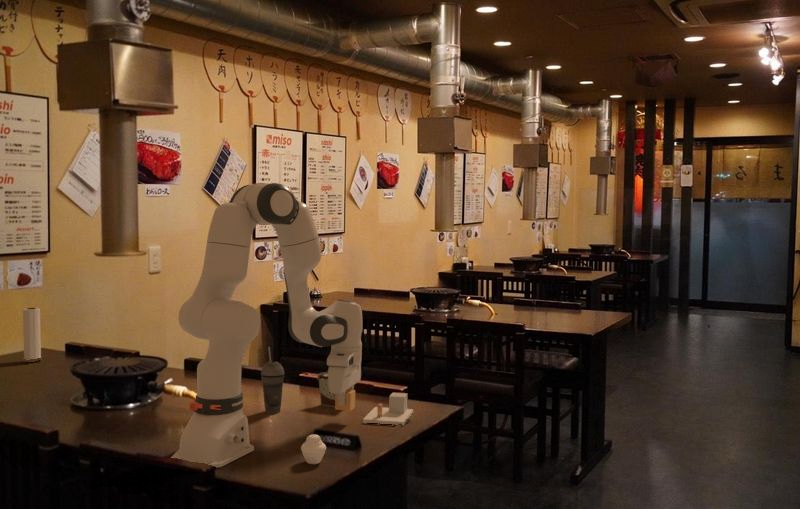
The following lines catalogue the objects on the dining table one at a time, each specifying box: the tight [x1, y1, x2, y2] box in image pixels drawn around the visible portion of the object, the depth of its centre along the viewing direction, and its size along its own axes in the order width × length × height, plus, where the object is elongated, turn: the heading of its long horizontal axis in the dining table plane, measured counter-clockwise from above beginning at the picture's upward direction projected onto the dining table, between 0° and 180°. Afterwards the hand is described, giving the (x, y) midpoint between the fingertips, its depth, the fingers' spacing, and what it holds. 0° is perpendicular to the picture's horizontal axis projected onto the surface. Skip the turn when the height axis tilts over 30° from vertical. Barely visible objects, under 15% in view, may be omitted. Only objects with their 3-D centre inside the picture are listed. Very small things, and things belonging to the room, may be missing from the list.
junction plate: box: [362, 392, 414, 426], centre depth 225 cm, size 14×12×6 cm
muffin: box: [300, 433, 327, 465], centre depth 186 cm, size 6×6×7 cm
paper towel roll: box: [22, 307, 42, 360], centre depth 299 cm, size 7×6×21 cm
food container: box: [316, 371, 335, 408], centre depth 240 cm, size 12×6×10 cm, turn 63°
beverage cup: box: [260, 346, 286, 415], centre depth 230 cm, size 7×7×20 cm
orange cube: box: [334, 389, 356, 412], centre depth 219 cm, size 5×5×5 cm
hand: (345, 402), depth 219 cm, fingers closed on orange cube, 5 cm apart
